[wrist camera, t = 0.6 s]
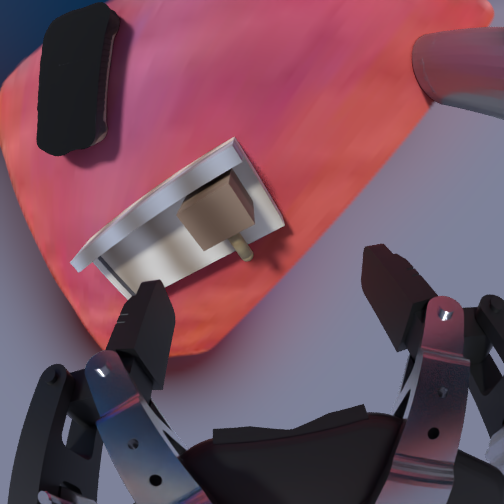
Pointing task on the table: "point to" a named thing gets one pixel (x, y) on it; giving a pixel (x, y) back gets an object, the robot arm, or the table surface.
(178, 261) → the grey flat tray
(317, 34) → the table surface
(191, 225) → the brown block with peg
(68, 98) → the black sponge
